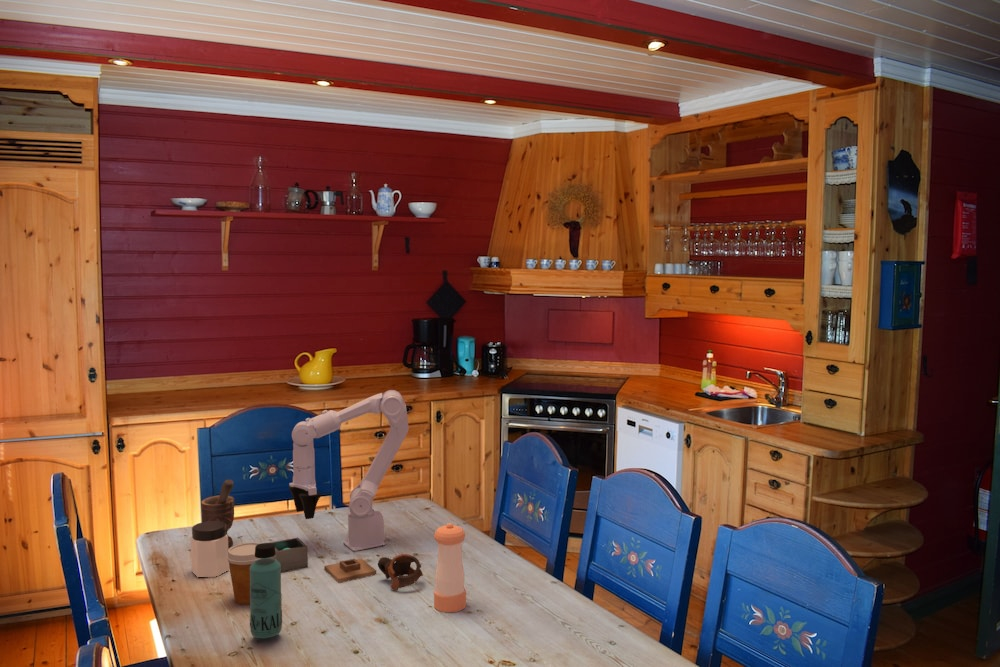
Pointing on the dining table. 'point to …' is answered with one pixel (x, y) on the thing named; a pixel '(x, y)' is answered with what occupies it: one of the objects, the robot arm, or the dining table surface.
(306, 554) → the open box
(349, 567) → the stand
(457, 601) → the salt shaker
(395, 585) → the pottery mug
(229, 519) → the mortar and pestle
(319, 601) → the dining table surface
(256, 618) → the beverage bottle
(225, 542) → the jar
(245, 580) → the disposable coffee cup
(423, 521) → the dining table surface
